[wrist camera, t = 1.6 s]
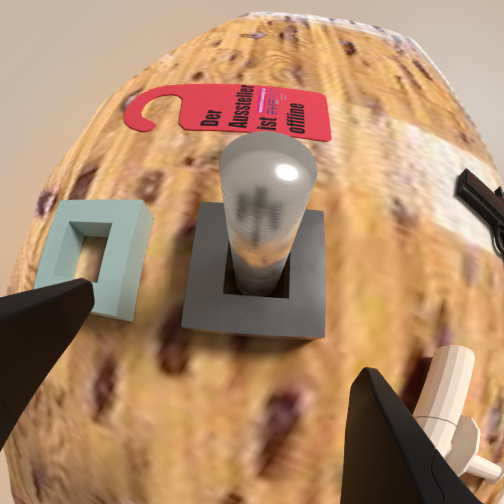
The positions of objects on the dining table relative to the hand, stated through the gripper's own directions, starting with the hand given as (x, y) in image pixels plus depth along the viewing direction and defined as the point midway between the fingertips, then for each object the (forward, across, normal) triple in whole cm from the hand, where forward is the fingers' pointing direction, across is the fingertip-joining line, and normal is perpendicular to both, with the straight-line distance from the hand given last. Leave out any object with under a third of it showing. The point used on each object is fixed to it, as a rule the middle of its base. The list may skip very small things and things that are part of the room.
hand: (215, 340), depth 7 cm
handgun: (+21, -26, -3) cm, 34 cm away
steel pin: (+12, 0, +4) cm, 13 cm away
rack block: (+10, +13, +6) cm, 18 cm away
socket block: (+12, 0, +4) cm, 13 cm away
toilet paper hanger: (+5, -24, +12) cm, 28 cm away
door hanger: (+26, +10, -8) cm, 29 cm away
